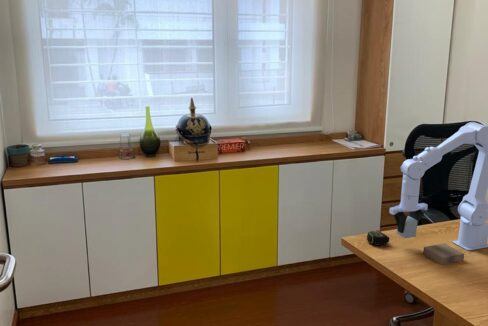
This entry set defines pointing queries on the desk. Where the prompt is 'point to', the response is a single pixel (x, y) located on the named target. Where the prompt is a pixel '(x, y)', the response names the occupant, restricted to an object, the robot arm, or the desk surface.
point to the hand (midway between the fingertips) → (406, 231)
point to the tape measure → (377, 238)
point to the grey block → (409, 228)
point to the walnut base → (443, 254)
